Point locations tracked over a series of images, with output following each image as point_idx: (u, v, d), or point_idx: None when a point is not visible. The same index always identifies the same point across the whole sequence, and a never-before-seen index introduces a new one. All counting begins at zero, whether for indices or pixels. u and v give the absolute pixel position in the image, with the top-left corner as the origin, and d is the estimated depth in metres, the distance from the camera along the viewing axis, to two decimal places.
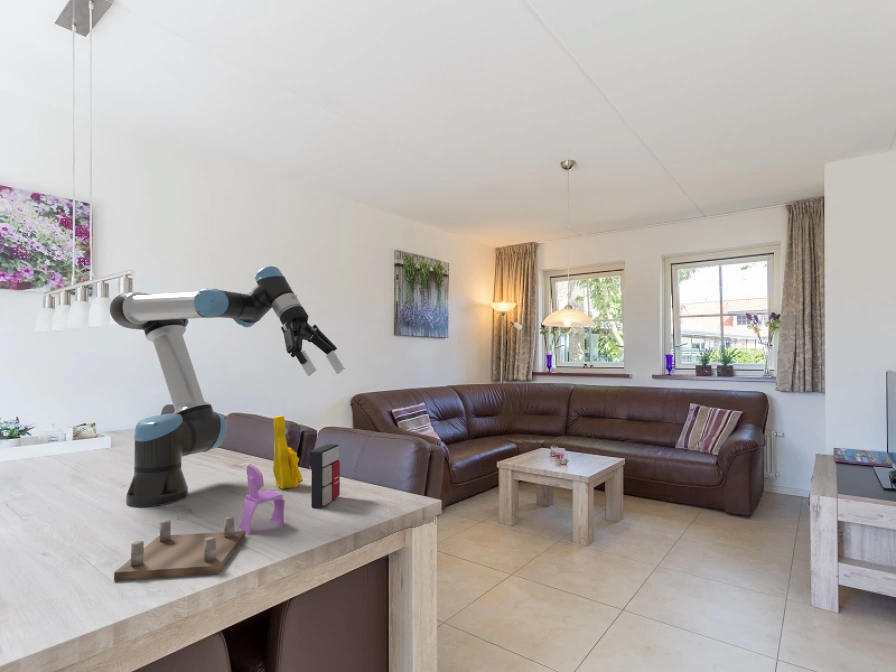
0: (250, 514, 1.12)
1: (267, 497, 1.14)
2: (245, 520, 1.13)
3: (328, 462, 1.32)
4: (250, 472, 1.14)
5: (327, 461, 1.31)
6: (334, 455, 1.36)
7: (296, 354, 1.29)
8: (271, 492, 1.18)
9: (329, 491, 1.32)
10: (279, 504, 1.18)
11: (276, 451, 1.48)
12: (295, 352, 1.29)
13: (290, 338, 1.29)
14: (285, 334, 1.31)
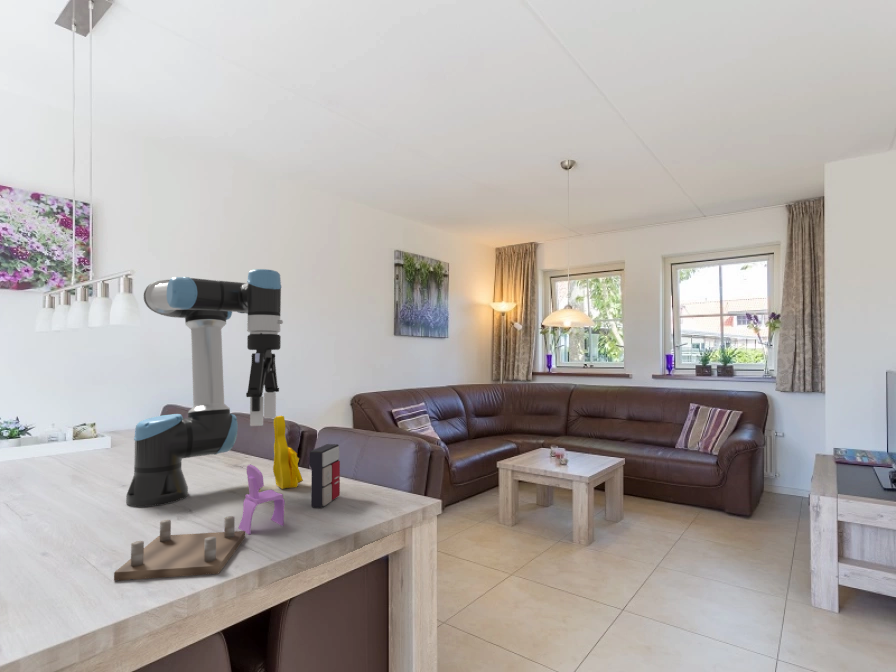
0: (250, 514, 1.12)
1: (267, 497, 1.14)
2: (245, 520, 1.13)
3: (328, 462, 1.32)
4: (250, 472, 1.14)
5: (327, 461, 1.31)
6: (334, 455, 1.36)
7: (254, 398, 1.08)
8: (271, 492, 1.18)
9: (329, 491, 1.32)
10: (279, 504, 1.18)
11: (276, 451, 1.48)
12: (254, 396, 1.08)
13: (259, 378, 1.08)
14: (253, 367, 1.09)
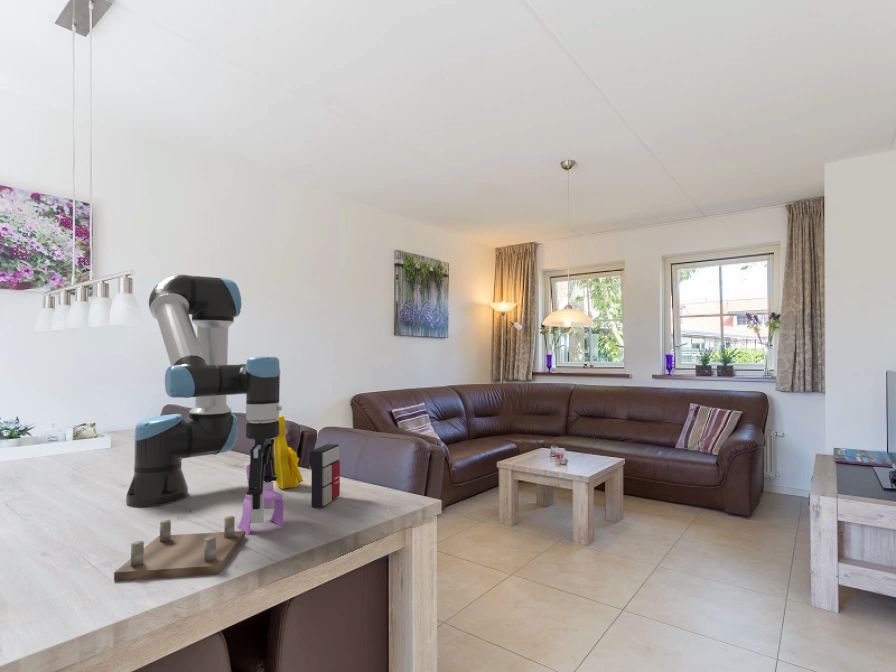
0: (249, 514, 1.12)
1: (267, 497, 1.14)
2: (245, 520, 1.12)
3: (328, 462, 1.32)
4: None
5: (327, 461, 1.31)
6: (334, 455, 1.36)
7: (254, 496, 1.09)
8: (271, 492, 1.18)
9: (329, 491, 1.32)
10: (279, 504, 1.18)
11: (276, 451, 1.48)
12: (255, 494, 1.09)
13: (258, 476, 1.08)
14: (253, 464, 1.09)
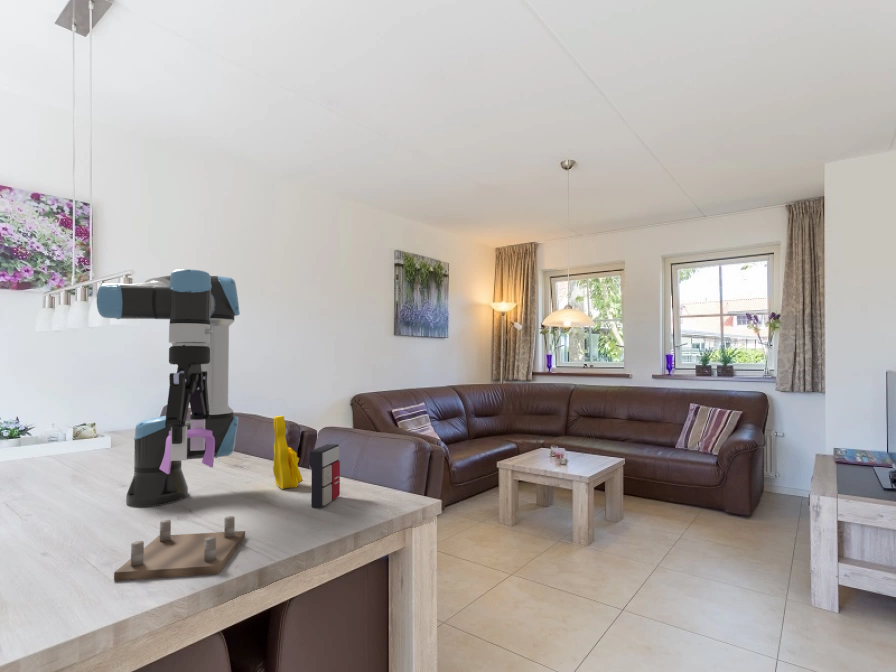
0: (170, 451, 0.95)
1: (192, 433, 0.97)
2: (166, 459, 0.96)
3: (328, 462, 1.32)
4: None
5: (327, 461, 1.31)
6: (334, 455, 1.36)
7: (174, 428, 0.93)
8: (200, 429, 1.01)
9: (329, 491, 1.32)
10: (210, 443, 1.01)
11: (276, 451, 1.48)
12: (175, 426, 0.92)
13: (179, 405, 0.92)
14: (172, 390, 0.92)
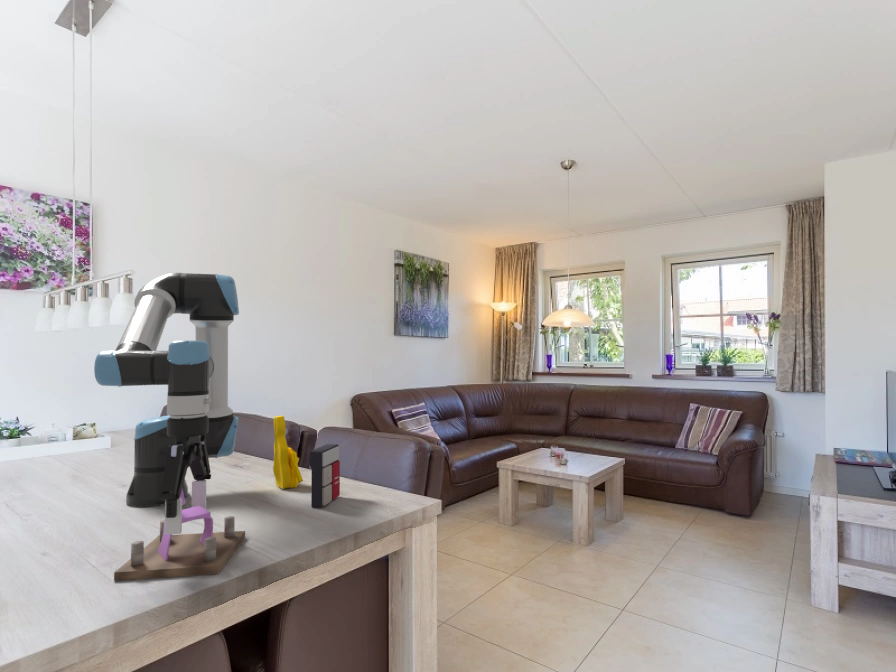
0: (168, 536, 0.94)
1: (191, 516, 0.96)
2: (164, 543, 0.95)
3: (328, 462, 1.32)
4: None
5: (327, 461, 1.31)
6: (334, 455, 1.36)
7: (168, 502, 0.90)
8: (199, 509, 1.00)
9: (329, 491, 1.32)
10: (208, 523, 1.00)
11: (276, 451, 1.48)
12: (169, 500, 0.90)
13: (174, 478, 0.90)
14: (169, 463, 0.91)
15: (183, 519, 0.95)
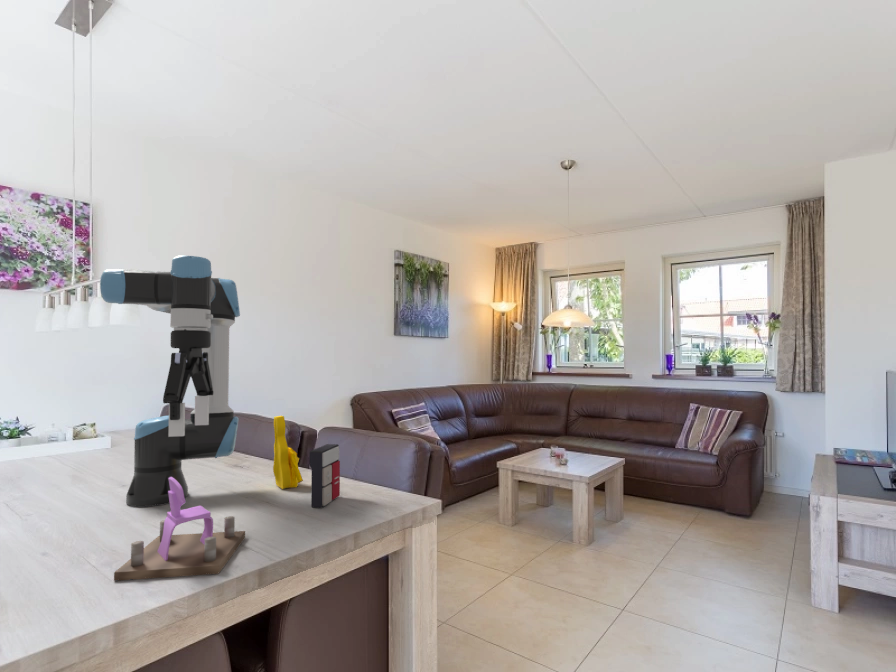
0: (168, 536, 0.94)
1: (191, 516, 0.96)
2: (164, 543, 0.95)
3: (328, 462, 1.32)
4: (171, 486, 0.96)
5: (327, 461, 1.31)
6: (334, 455, 1.36)
7: (172, 404, 0.94)
8: (199, 509, 1.00)
9: (329, 491, 1.32)
10: (208, 523, 1.00)
11: (276, 451, 1.48)
12: (173, 402, 0.94)
13: (178, 381, 0.94)
14: (173, 368, 0.95)
15: (183, 519, 0.95)
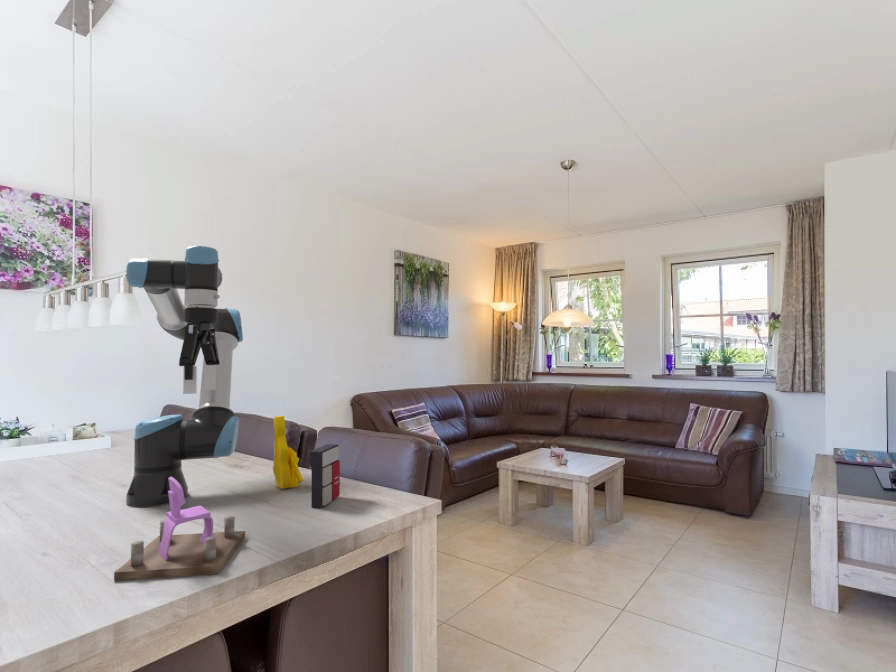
0: (168, 536, 0.94)
1: (191, 516, 0.96)
2: (164, 543, 0.95)
3: (328, 462, 1.32)
4: (171, 486, 0.96)
5: (327, 461, 1.31)
6: (334, 455, 1.36)
7: (186, 367, 1.14)
8: (199, 509, 1.00)
9: (329, 491, 1.32)
10: (208, 523, 1.00)
11: (276, 451, 1.48)
12: (187, 365, 1.14)
13: (191, 348, 1.14)
14: (187, 337, 1.15)
15: (183, 519, 0.95)
